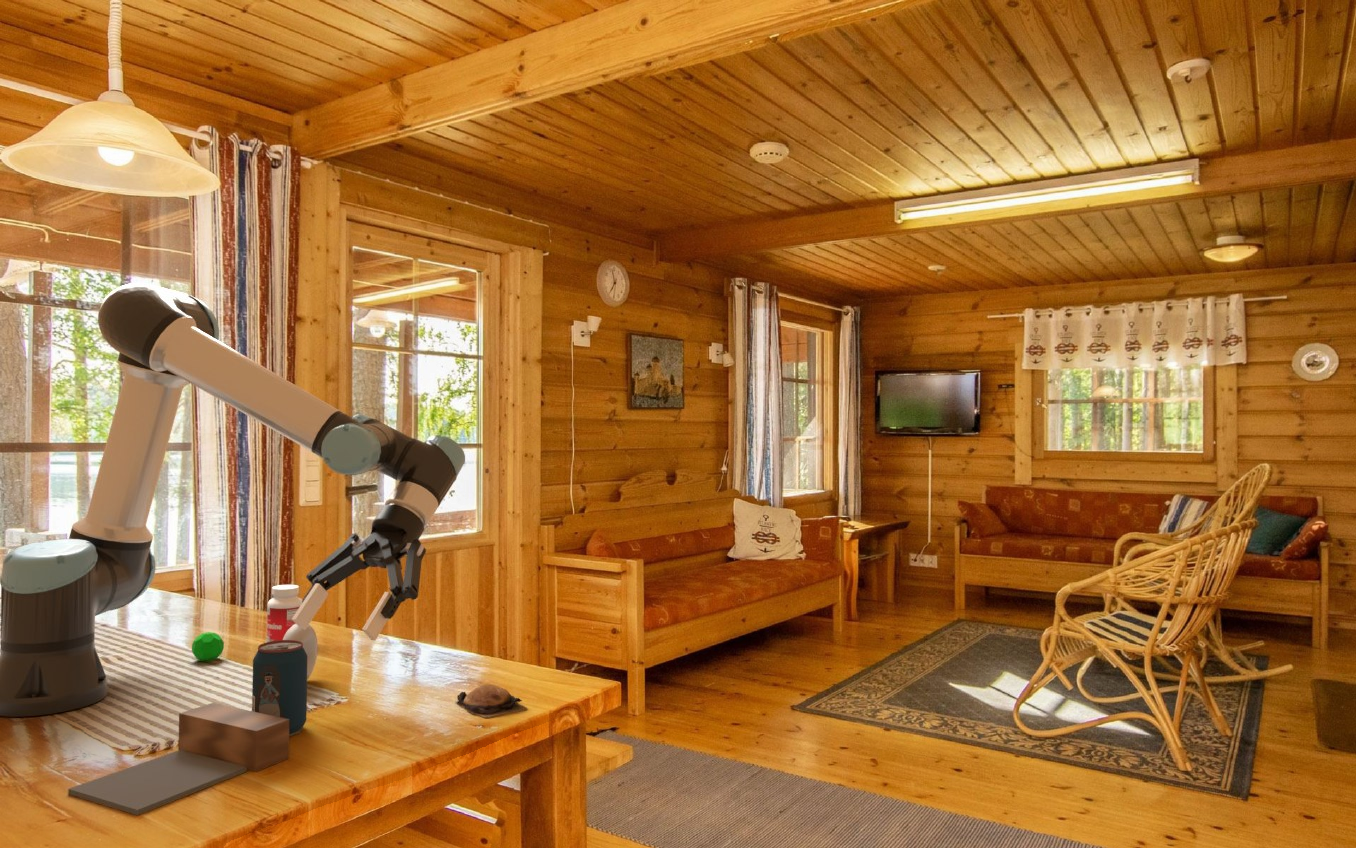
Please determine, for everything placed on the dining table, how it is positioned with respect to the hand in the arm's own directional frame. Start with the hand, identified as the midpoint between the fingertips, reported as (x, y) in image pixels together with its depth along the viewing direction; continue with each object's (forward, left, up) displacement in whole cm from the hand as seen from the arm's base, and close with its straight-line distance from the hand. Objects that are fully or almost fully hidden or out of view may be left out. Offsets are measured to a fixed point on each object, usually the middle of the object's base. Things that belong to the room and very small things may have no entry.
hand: (332, 630), depth 134 cm
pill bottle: (-38, +25, -13) cm, 47 cm away
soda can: (-1, -9, -13) cm, 15 cm away
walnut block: (+1, -18, -12) cm, 22 cm away
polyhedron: (-41, +11, -13) cm, 44 cm away
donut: (-16, +8, -13) cm, 22 cm away
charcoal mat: (+1, -28, -12) cm, 30 cm away
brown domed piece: (+17, +15, -13) cm, 26 cm away
